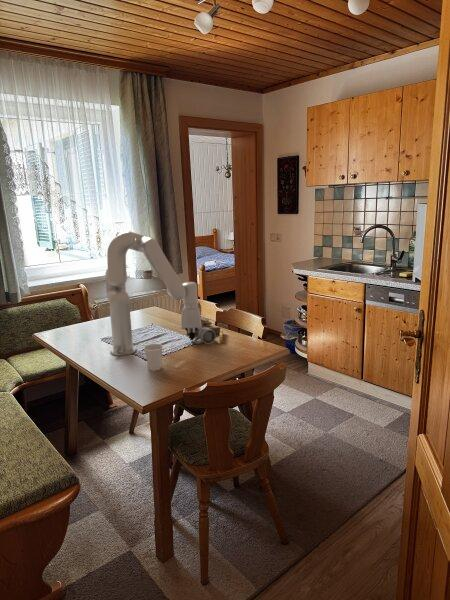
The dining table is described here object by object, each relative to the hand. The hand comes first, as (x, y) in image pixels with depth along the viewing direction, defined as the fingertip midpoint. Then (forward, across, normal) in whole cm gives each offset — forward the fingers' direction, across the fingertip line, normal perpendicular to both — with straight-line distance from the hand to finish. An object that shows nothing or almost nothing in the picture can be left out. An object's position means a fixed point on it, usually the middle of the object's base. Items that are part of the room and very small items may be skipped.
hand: (192, 339), depth 218 cm
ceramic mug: (+1, +7, -2) cm, 7 cm away
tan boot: (+1, 0, +27) cm, 27 cm away
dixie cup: (+1, -13, -36) cm, 38 cm away
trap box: (+1, +6, +3) cm, 7 cm away
